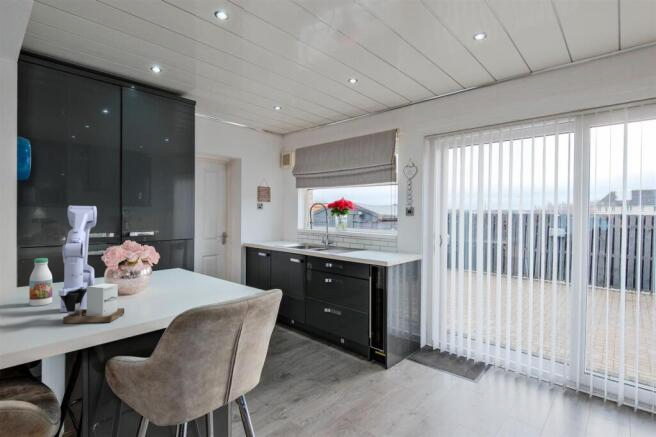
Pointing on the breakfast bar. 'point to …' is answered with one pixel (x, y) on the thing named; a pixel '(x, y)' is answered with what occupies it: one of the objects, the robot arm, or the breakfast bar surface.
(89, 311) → the supplement box
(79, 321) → the wooden serving tray
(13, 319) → the breakfast bar surface
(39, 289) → the milk bottle
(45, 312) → the breakfast bar surface
